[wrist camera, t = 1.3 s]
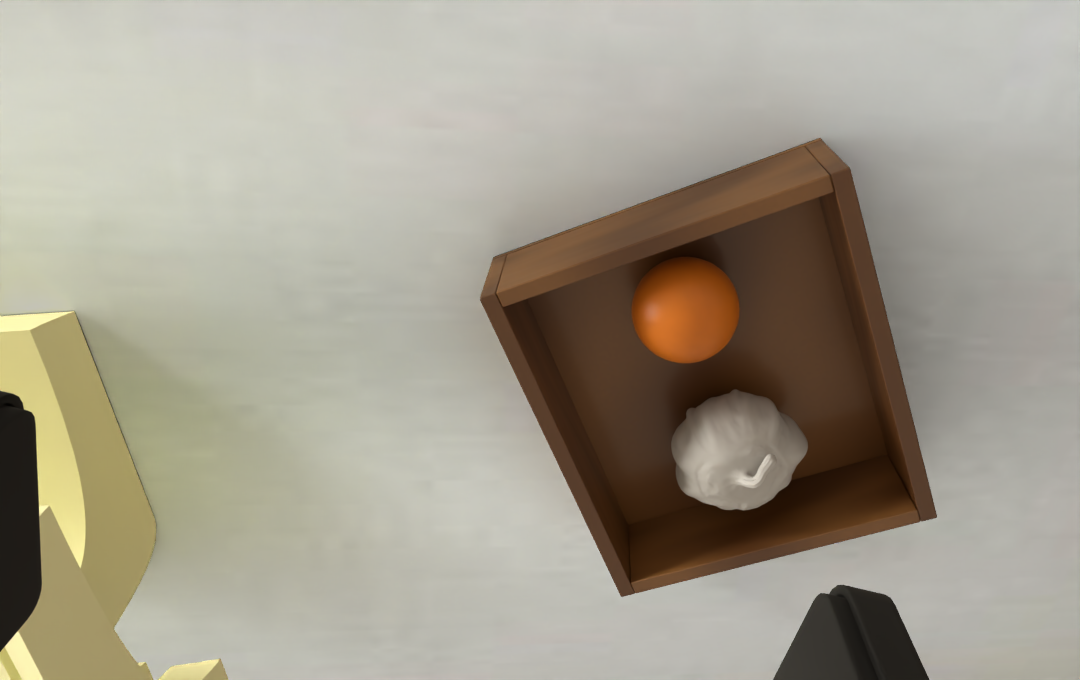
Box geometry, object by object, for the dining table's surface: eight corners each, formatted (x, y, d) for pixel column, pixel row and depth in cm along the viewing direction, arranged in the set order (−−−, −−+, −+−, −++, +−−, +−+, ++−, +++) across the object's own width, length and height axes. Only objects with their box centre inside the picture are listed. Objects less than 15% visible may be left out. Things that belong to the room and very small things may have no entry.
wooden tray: (820, 137, 33) (850, 167, 29) (903, 457, 39) (937, 518, 35) (492, 257, 36) (478, 298, 32) (619, 534, 43) (621, 597, 39)
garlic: (766, 351, 37) (789, 413, 32) (810, 441, 39) (838, 511, 34) (645, 403, 39) (651, 468, 34) (694, 486, 41) (705, 559, 36)
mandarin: (714, 226, 35) (728, 265, 31) (743, 315, 36) (760, 363, 32) (615, 261, 36) (617, 303, 32) (649, 346, 37) (653, 396, 33)
